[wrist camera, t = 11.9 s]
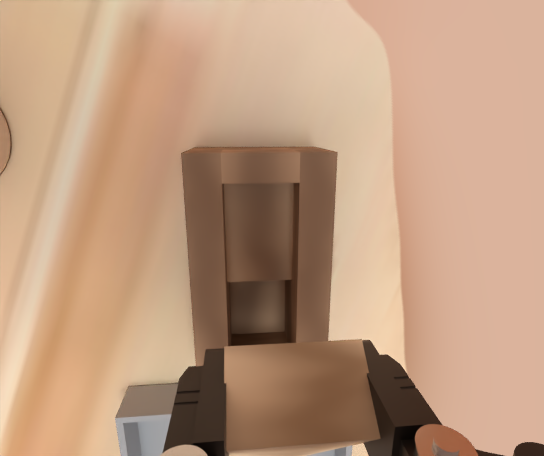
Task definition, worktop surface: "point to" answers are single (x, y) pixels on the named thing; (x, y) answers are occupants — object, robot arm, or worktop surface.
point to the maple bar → (297, 398)
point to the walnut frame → (259, 244)
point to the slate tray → (157, 421)
